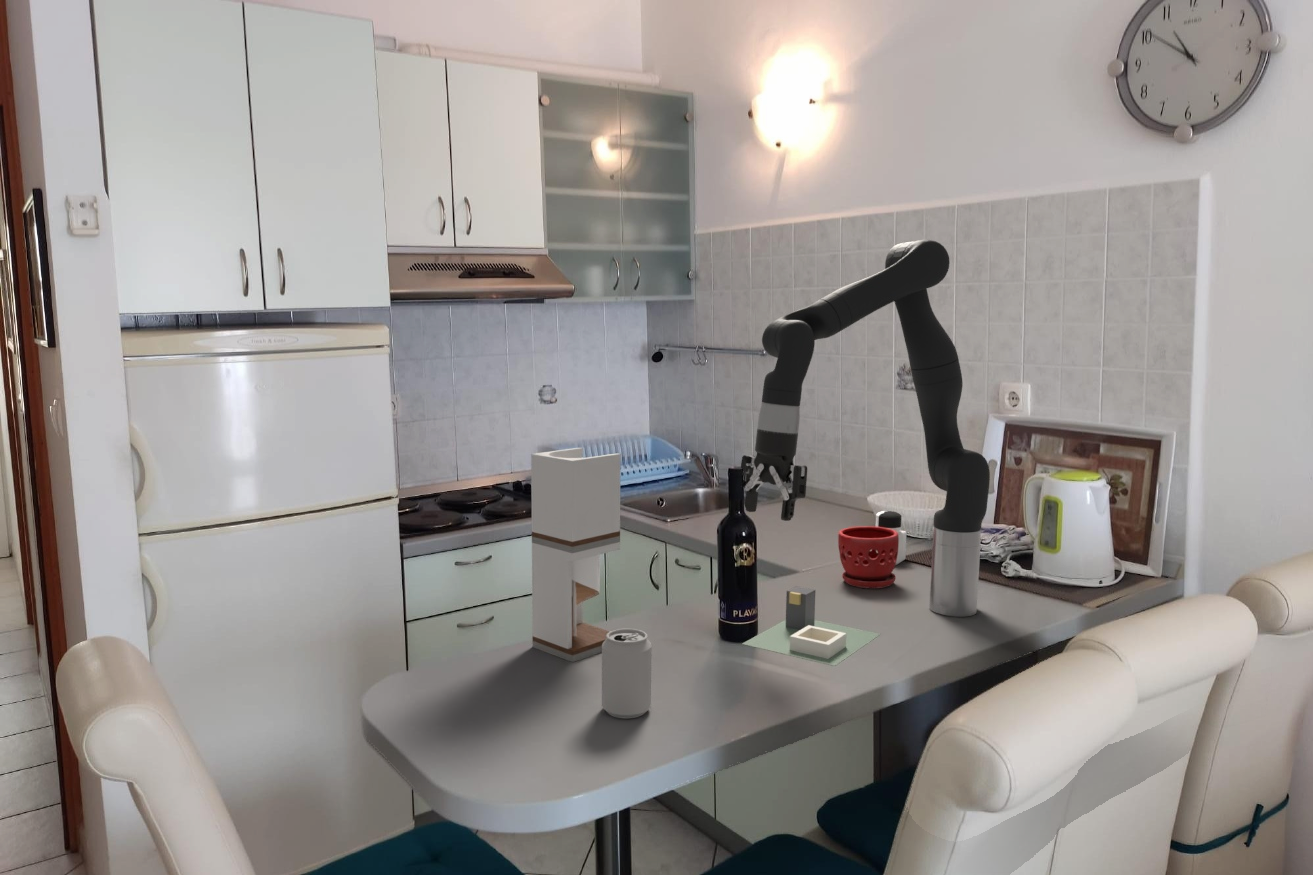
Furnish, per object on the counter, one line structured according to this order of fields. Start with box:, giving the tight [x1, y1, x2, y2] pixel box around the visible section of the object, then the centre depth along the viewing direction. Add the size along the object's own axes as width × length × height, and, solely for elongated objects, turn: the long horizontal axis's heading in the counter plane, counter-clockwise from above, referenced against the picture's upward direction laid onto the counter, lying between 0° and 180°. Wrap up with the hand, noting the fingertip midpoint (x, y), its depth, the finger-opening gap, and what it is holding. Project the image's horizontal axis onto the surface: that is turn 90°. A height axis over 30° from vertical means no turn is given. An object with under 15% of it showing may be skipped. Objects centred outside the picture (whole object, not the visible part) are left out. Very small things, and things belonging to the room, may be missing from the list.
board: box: [741, 619, 881, 667], centre depth 175 cm, size 20×18×4 cm
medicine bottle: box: [870, 510, 907, 566], centre depth 235 cm, size 7×7×12 cm
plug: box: [785, 585, 816, 630], centre depth 181 cm, size 5×4×7 cm
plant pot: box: [837, 525, 899, 590], centre depth 215 cm, size 13×13×12 cm
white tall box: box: [530, 447, 622, 663], centre depth 171 cm, size 11×11×35 cm
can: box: [601, 628, 653, 719], centre depth 145 cm, size 8×8×12 cm
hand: (767, 515), depth 178 cm, fingers open, 8 cm apart
